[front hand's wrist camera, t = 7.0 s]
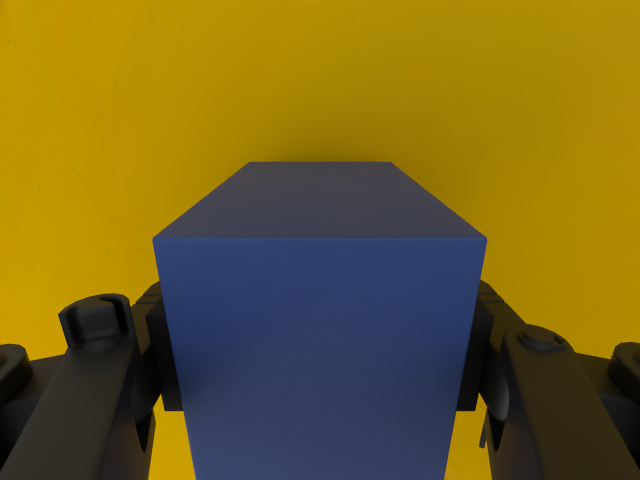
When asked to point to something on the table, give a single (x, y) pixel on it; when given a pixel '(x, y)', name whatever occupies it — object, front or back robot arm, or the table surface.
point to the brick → (319, 322)
